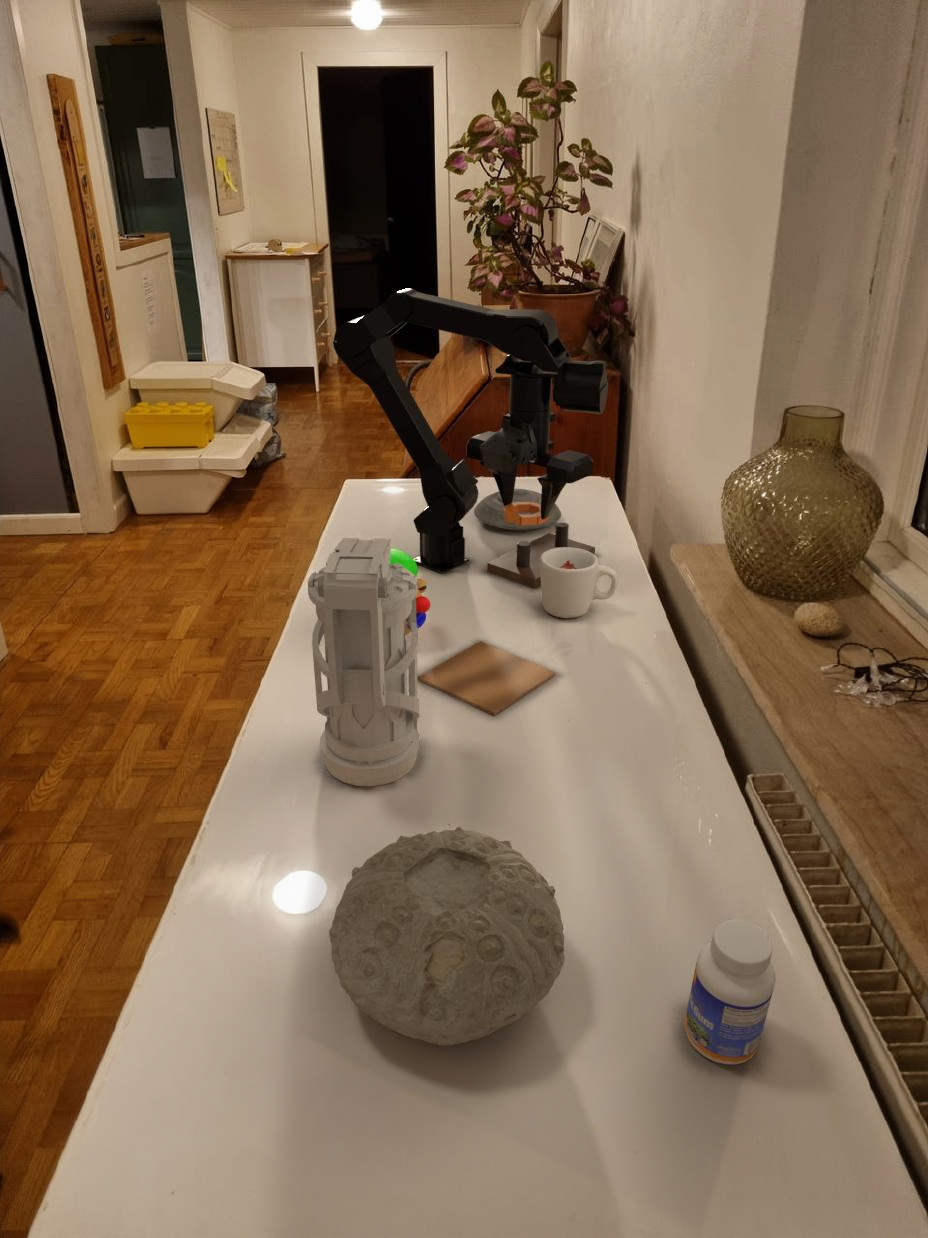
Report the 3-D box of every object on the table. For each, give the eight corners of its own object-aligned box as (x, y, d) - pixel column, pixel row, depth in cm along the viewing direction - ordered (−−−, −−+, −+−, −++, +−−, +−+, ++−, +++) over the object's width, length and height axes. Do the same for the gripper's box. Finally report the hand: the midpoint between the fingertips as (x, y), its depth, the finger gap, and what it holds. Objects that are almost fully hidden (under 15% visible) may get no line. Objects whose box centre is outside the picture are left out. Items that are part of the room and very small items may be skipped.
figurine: (335, 642, 120) (330, 558, 114) (374, 612, 127) (371, 532, 122) (410, 663, 115) (409, 576, 109) (447, 631, 123) (447, 548, 117)
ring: (495, 517, 134) (495, 509, 134) (521, 506, 139) (521, 498, 138) (530, 528, 131) (530, 520, 130) (556, 516, 135) (556, 508, 135)
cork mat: (417, 679, 112) (417, 676, 112) (480, 643, 120) (480, 640, 120) (494, 715, 105) (494, 712, 105) (555, 675, 113) (555, 672, 113)
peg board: (486, 571, 140) (487, 541, 137) (548, 541, 151) (550, 512, 148) (534, 588, 135) (536, 557, 132) (594, 555, 145) (597, 526, 143)
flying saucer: (546, 542, 150) (548, 510, 148) (461, 529, 155) (461, 498, 152) (570, 511, 163) (572, 482, 160) (490, 500, 167) (491, 471, 165)
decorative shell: (597, 1041, 67) (608, 941, 62) (356, 1104, 63) (349, 1002, 58) (516, 874, 82) (520, 784, 78) (317, 915, 78) (309, 822, 73)
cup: (613, 600, 131) (618, 549, 128) (615, 626, 124) (621, 572, 121) (537, 596, 132) (540, 545, 129) (536, 622, 125) (539, 568, 122)
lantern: (329, 729, 102) (315, 518, 91) (423, 731, 102) (420, 520, 90) (308, 803, 91) (289, 573, 79) (414, 806, 90) (409, 576, 79)
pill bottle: (675, 1006, 70) (691, 912, 65) (744, 1002, 70) (765, 908, 66) (697, 1070, 65) (716, 973, 61) (771, 1065, 66) (795, 968, 61)
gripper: (440, 406, 127) (441, 512, 134) (551, 431, 117) (545, 545, 124) (491, 392, 135) (489, 493, 142) (599, 414, 124) (590, 522, 131)
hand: (525, 512), depth 135 cm, fingers closed on ring, 6 cm apart
